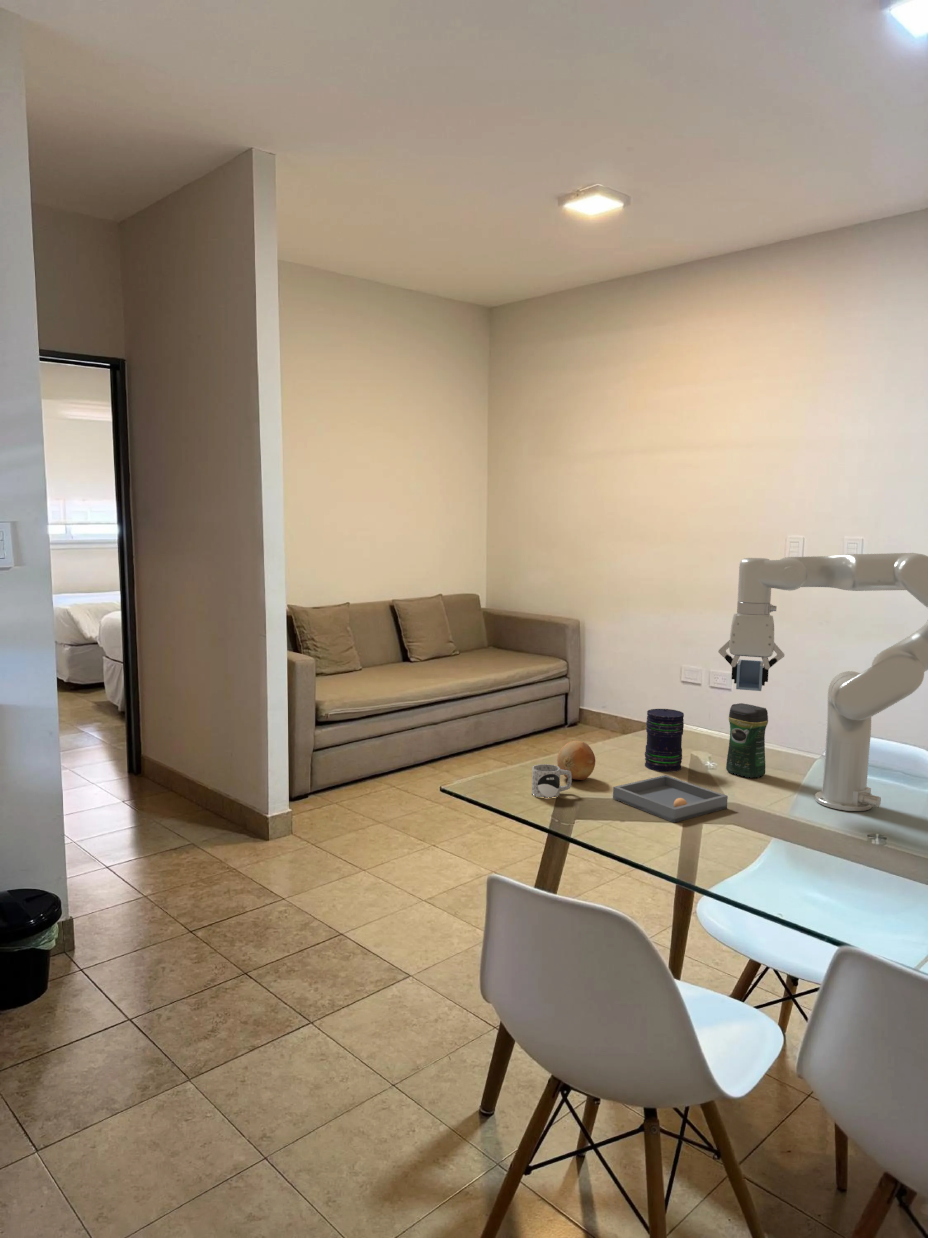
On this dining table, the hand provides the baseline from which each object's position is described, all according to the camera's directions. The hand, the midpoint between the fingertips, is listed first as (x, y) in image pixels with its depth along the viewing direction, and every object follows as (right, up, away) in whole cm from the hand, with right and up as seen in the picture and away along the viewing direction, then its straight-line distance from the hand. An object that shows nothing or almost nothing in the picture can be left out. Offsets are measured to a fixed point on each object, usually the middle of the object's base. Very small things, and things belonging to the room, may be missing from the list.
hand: (749, 682), depth 211 cm
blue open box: (0, -1, 0) cm, 1 cm away
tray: (-21, -28, -6) cm, 35 cm away
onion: (-41, -26, +12) cm, 50 cm away
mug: (-48, -27, 0) cm, 55 cm away
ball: (-20, -27, -14) cm, 36 cm away
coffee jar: (+5, -26, +19) cm, 33 cm away
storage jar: (-15, -25, +24) cm, 38 cm away
